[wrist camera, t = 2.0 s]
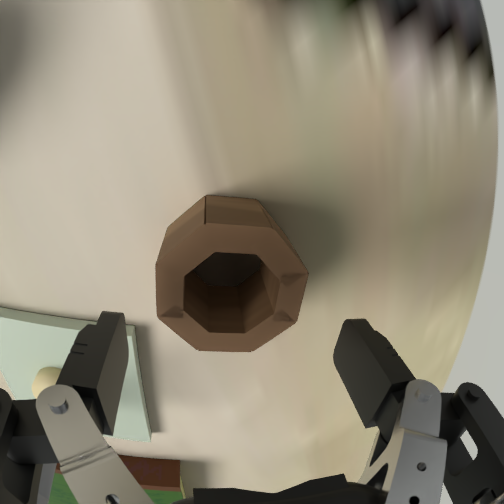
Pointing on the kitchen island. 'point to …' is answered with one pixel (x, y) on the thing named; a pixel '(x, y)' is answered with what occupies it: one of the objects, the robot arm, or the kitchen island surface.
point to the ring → (226, 297)
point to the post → (50, 365)
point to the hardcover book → (145, 473)
